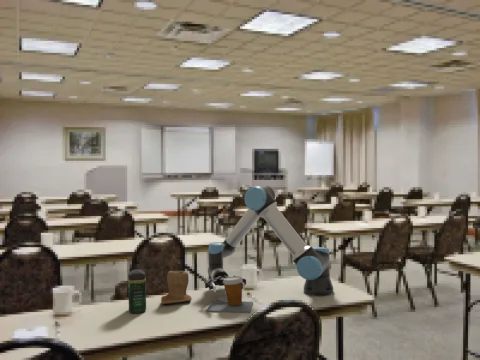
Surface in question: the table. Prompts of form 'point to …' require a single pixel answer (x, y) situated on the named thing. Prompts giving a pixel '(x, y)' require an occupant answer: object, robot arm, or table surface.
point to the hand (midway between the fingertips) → (229, 287)
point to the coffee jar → (137, 291)
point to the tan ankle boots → (176, 287)
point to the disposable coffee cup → (233, 289)
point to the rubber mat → (229, 307)
